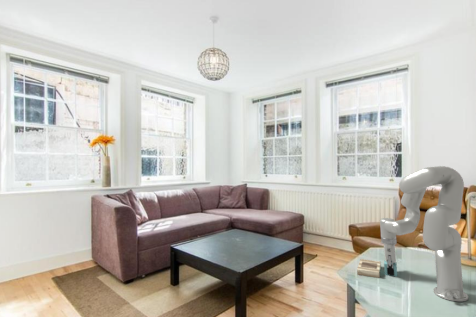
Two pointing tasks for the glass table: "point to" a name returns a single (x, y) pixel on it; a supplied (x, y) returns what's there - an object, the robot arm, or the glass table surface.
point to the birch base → (369, 268)
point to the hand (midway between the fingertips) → (390, 272)
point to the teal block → (393, 267)
